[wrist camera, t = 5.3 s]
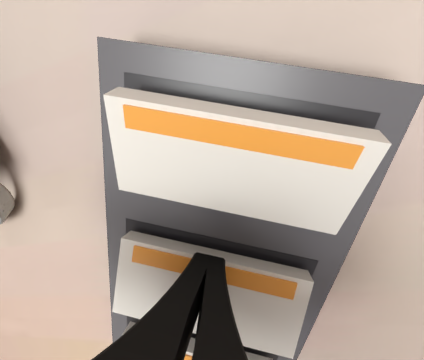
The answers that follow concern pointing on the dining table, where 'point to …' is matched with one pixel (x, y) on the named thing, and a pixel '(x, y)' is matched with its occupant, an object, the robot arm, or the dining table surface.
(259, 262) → the rocker middle
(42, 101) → the dining table surface
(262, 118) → the rocker
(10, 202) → the ceramic mug
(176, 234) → the switch panel
